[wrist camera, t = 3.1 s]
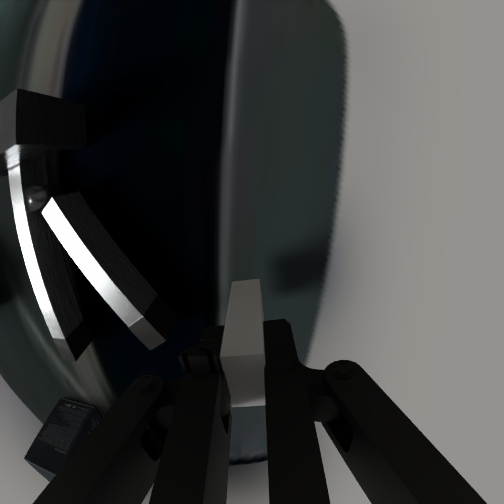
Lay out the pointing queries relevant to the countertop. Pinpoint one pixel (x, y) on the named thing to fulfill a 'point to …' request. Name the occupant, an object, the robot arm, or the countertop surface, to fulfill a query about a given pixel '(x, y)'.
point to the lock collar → (38, 126)
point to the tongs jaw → (109, 269)
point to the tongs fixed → (46, 256)
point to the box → (61, 436)
